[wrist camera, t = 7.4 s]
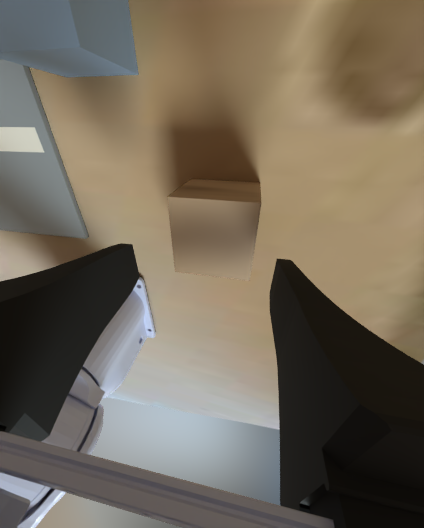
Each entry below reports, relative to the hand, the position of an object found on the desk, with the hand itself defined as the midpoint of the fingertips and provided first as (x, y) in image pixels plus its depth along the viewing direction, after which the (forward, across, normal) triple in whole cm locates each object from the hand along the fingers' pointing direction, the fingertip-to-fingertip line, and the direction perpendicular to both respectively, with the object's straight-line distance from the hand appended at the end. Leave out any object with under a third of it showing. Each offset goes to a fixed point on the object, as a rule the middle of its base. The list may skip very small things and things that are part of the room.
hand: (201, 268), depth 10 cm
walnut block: (+7, 0, 0) cm, 7 cm away
